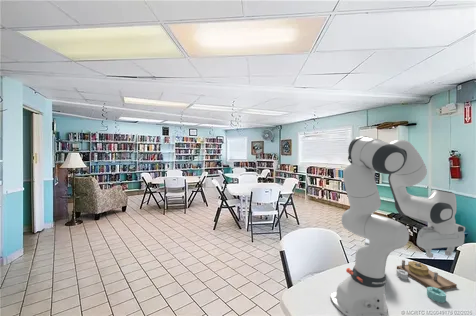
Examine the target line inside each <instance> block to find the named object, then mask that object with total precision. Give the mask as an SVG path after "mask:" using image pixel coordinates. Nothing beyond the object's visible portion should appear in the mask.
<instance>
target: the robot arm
mask: <svg viewBox="0 0 476 316" xmlns="http://www.w3.org/2000/svg"><path fill="white" fill-rule="evenodd" d="M347 151H348V152H347V153H348V157H347V160H348V162H349V163H350V164H349V165H347V166H346V167H345V168H344V170H343V181H344V184H343V185H344V188H345V191H346V194H347V199H348V202H349V208H348V209H346V210H345V211H344V212H343V213H342V215H341V224H342V226H343V228H344V229H345V230H347V231H348V232H350V233H352V234H353V235H357V236H358V237H362V238H364V239H368V240H369V245H366V246H365V245H362V246H359V247H358V248H357V249H356V251H355V261H354V266H353V268H352V269H351V268H350V267H348V268H346V269H345V270H346V273H347V274H348V275H349V276H348V277H347V278H346V279H344V280H343V281H342V282H341V283H339V284H338V285H337V288H336V291H334V292H332V293H330V295H329V297H330V300H331V302H332V304H333V305H334V307H336V308H337V309H338V310H339V311H340V312H341V313H342V314H343V315H345V316H389V315H388V306H387V297H386V289H385V286H386V282H387V275H386V268H387V267H386V265H387V260H388V257H389V255H390V254H391V253H392V252H394V251H395V250H399V249H402V248H404V247H405V246H406V245H407V244H408V243H409V240H410V233H409V230H408V228H407V226H406V225H405V224H403V223H401V222H400V221H397V220H395V219H392V218H390V217H386V216H383V215H379V214H375V213H376V212H377V211H378V210H379V209H380V207H381V204H382V200H381V197H380V193H379V188H378V185H377V182H376V179H375V177H376V172H377V173H380V174H383V175H388V178H387V179H388V180H387V181H388V185H389V188H390V191H391V194H392V197H393V200H394V208H395V210H396V211H397V213H398V214H399V215H401V216H405V217H410V218H412V219H413V218H414V219H416V220H420V221H424V222H427V226H422V228H421V229H419V231H418V233H417V238H416V245H417V246H418V247H419V248H421V249H424V251H425V253H426V254H425V255H426V257H427V258H434V253H432V251H433V249H442V248H446V250H444V254H445V256H447V257H451V256H453V252H454V250H455V249H456V248H457V247H462V246H463V245H464V244H465V231H466V227H465V226H464V225H461V224H458V223H456V221H457V220H456V217H455V216H456V214H457V197H456V196H457V195H456V194H455V193H454V192H452V191H448V190H443V189H432V190H431V192H430V196H429V197H428V198H426V197H422V196H416V195H413V194H410V193H409V192H408V190H407V187H412V186H413V187H414V186H416V185H418V184H420V183H421V182H422V181H423V180H425V178H426V177H427V173H428V171H427V166H426V164H425V162H424V160H423V158H422V157H421V155H420V153H419V151H418V150H417V149H416V148H415V146H414V145H413V144H412V143H411V142H410V141H408V140H406V139H405V140H404V139H397V140H393V141H391V142H389V143H388V142H386V141H385V140H384V141H383V140H382V139H378V138H375V137H374V138H373V137H370V136H359V137H358V136H357V137H355V138H353V139H352V140H351V142H350V143H349V145H348V150H347Z"/></svg>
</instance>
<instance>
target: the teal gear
mask: <svg viewBox="0 0 476 316" xmlns="http://www.w3.org/2000/svg"><path fill="white" fill-rule="evenodd" d="M426 296H427V297H428V298H429V299H431V300H432V301H434V302H437V303H439V304H440V303H446V302H447V294H446V292H445V291H444V290H440V289H438V288H434V287H426Z"/></svg>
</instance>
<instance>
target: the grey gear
mask: <svg viewBox="0 0 476 316" xmlns="http://www.w3.org/2000/svg"><path fill="white" fill-rule="evenodd" d="M395 275H396V277H397V278H400V279H402V280H407V279H409V276H408V273H407V272H406V271H404V270H400V269H396V274H395Z"/></svg>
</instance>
